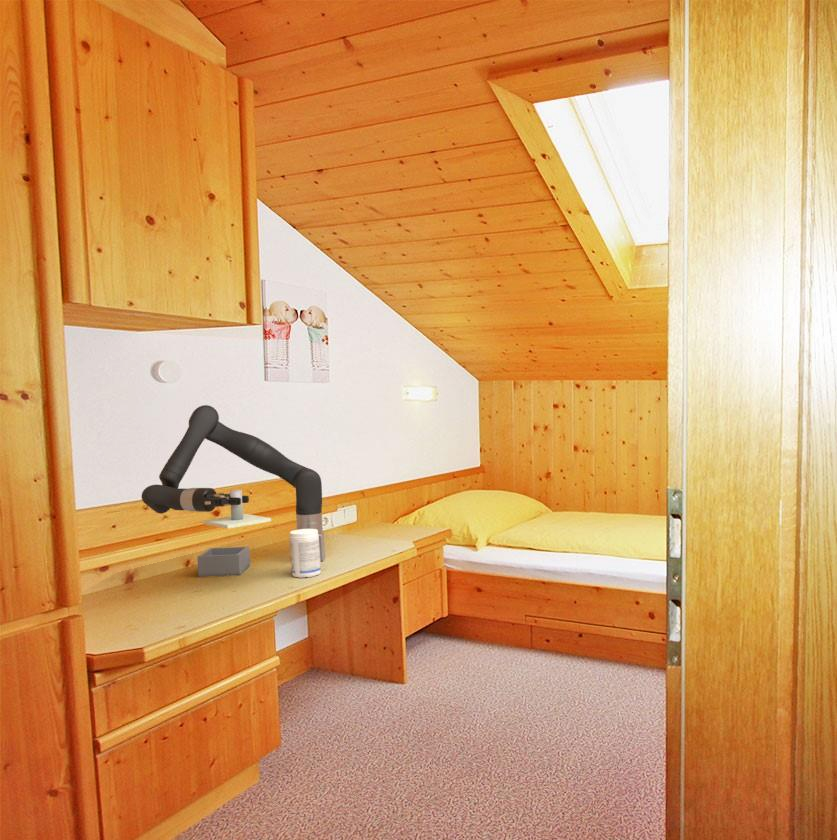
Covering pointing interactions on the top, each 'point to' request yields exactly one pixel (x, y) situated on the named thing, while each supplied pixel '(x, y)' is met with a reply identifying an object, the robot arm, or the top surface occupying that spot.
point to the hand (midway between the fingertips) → (244, 500)
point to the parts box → (223, 561)
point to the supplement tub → (305, 553)
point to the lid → (237, 516)
